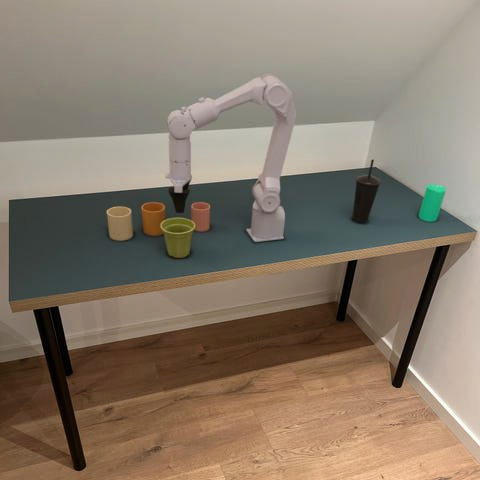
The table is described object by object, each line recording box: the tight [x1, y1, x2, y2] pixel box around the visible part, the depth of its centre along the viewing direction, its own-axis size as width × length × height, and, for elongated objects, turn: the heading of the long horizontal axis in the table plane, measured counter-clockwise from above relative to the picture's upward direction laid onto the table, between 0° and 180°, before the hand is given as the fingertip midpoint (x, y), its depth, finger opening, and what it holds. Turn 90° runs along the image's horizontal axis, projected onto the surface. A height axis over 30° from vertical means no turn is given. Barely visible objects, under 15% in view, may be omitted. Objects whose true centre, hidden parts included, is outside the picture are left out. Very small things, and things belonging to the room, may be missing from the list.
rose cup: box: [190, 201, 211, 232], centre depth 155 cm, size 6×6×7 cm
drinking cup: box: [351, 158, 382, 224], centre depth 161 cm, size 8×8×20 cm
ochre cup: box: [140, 201, 167, 237], centre depth 151 cm, size 7×7×8 cm
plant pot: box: [160, 217, 195, 259], centre depth 141 cm, size 9×9×9 cm
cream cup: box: [106, 206, 134, 242], centre depth 148 cm, size 7×7×8 cm
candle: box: [418, 183, 447, 222], centre depth 168 cm, size 6×6×12 cm
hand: (181, 206), depth 144 cm, fingers open, 7 cm apart
